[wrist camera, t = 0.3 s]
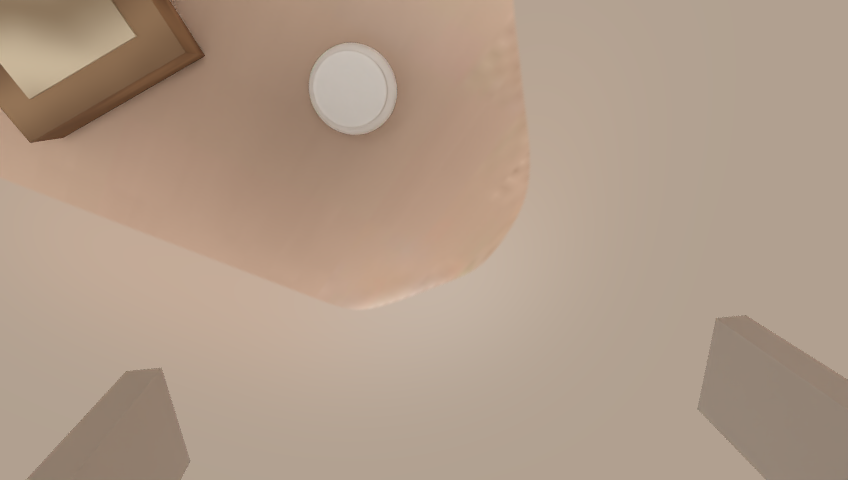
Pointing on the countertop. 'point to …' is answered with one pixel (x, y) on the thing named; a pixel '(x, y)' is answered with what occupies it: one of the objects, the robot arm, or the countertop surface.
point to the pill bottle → (353, 88)
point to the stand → (84, 58)
